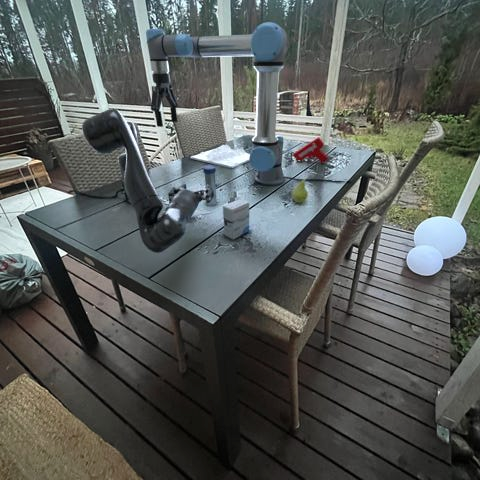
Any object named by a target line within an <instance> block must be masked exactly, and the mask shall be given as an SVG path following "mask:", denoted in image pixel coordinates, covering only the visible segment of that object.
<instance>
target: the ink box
mask: <svg viewBox="0 0 480 480" xmlns="http://www.w3.org/2000/svg"><path fill="white" fill-rule="evenodd" d="M222 213H223V233H224V236H225V237H227V238H229V239H231V240H235V239H237V238H239V237H241V236H242V235H244V234H247V233H248V232H250V202H249V201H246V200H244V199H242V198H238V199H236V200H234V201H232V202H229V203H226V204H224V205H222Z"/></svg>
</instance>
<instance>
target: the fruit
mask: <svg viewBox="0 0 480 480" xmlns="http://www.w3.org/2000/svg"><path fill="white" fill-rule="evenodd" d="M310 177H311V175H310V174H309V175H308V176H307V177H305V178H304V179H305V180H306V179H310ZM305 180H302V181H299V182H298V184H297V185H296V186H295V187H294V188H293V190H292V191H291V198H292V200H293V201H294V202H295V203H297V204H301V203H304V202H305V201H306V200H307V198H308V196H309V195H308V190H307V189H306V184H305V183H306V181H305Z"/></svg>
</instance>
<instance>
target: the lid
mask: <svg viewBox="0 0 480 480" xmlns="http://www.w3.org/2000/svg"><path fill="white" fill-rule="evenodd" d="M202 169H203V170H202V171H203V173H206V174H212V173H215V174H216V171H217V169H216V165H205V166H203V167H202Z"/></svg>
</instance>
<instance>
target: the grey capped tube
mask: <svg viewBox="0 0 480 480" xmlns="http://www.w3.org/2000/svg"><path fill="white" fill-rule="evenodd" d="M203 173H204V172H203ZM204 183H205V184H204V185H205V187H206V186H207V185H210V186H211V189H213V190H214V197H213V199H212V200H211V201H210V203H206V205H207V206H215V205H217V203H218V201H217V186H216V185H217V184H216V172H215V173H212V174H206V173H204Z"/></svg>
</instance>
